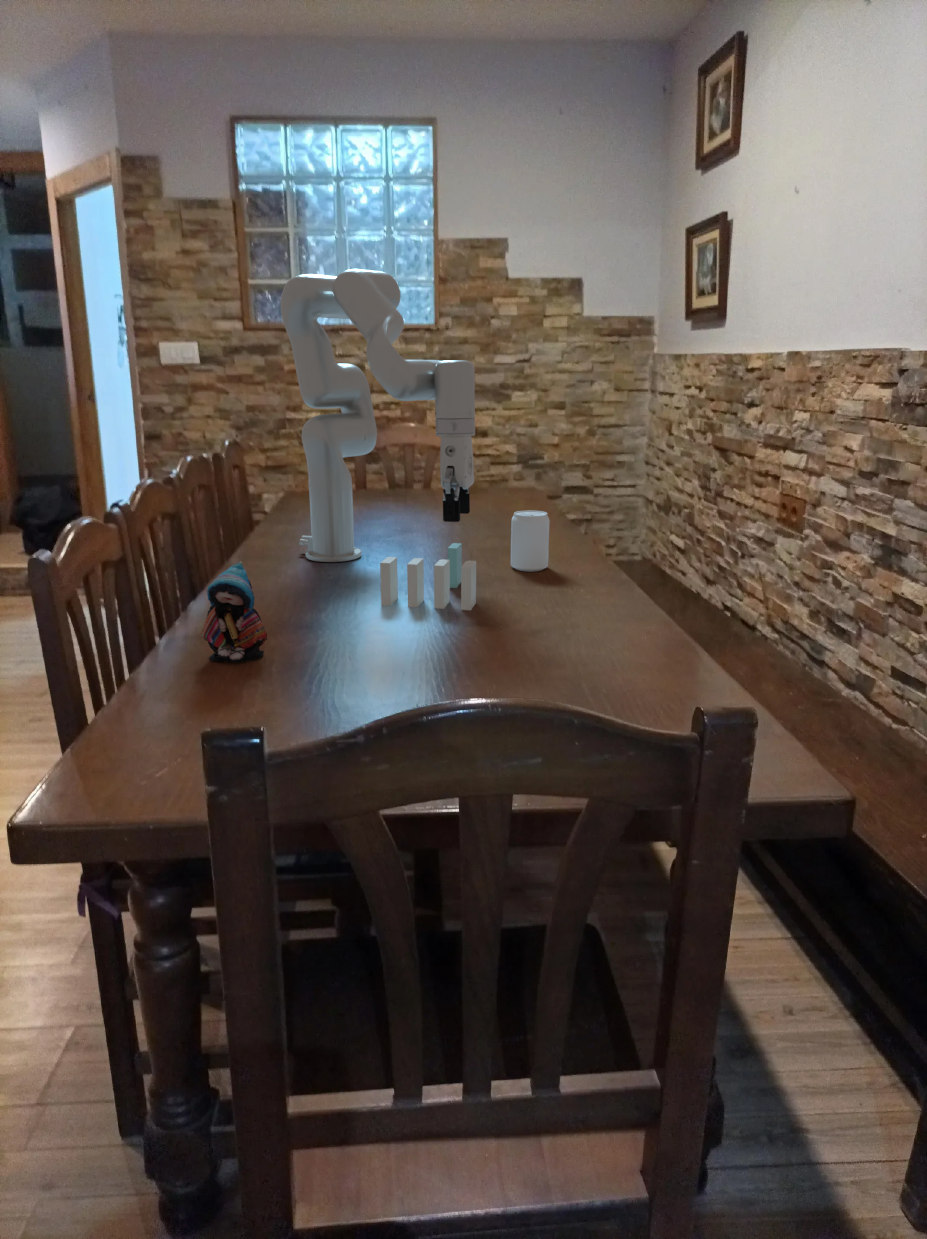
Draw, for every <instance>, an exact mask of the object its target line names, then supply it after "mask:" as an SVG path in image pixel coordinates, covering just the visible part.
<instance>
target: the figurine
mask: <svg viewBox="0 0 927 1239" xmlns="http://www.w3.org/2000/svg"><path fill="white" fill-rule="evenodd" d="M206 593H207V594H206V595H207V600H208V601H209V603H210V607H209V610H207V614H206V620H205V621H204V624H203V628H202V632H201V634H200V635H201V637H202V638H203V639H204V641H206V642H207V643H208V645H209V647H210V649H211V650H212V652H214V653H212V654H211V655H210V656H209V657H208V660H209V661H210V662H213V663H215V662H216V663H217V662H218V663H219V662H222V663H246V662H250V661H256V660H259V659H262V658H263V657H264V653H265V651H264V650H260V647H261V646H263V644H264V643H265V642H266V641H267V640H268V633H267V631H266V628H265V626H264V624H263V622H262V619H261V617H260V615H259V613H258V611H257V610H256V609H255V608H254V607H255V605H254V604H255V593H254V591H253V587H252V583H251V581H250V580H249V577H248V574H247V571H246V570H245V568H244V565H243V562H242V561H240V560H238V562H237V563H234V564H232V565H230V567H229V568H227V569H226V570H224V571H223V572H222V573H220V574H219V575H218V576H216V578H215V579H213V581H212V583H211V584H209V585H208V587H207V589H206Z"/></svg>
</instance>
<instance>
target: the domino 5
mask: <svg viewBox="0 0 927 1239" xmlns="http://www.w3.org/2000/svg"><path fill="white" fill-rule="evenodd" d="M460 589H461V590H460V598H461V599H460V601H461V602H460V610H461V611H472V609H473V608H474V606H475V605H476V604H477V560H466V561H465V562H464V563H463V564H462V566H461V583H460Z"/></svg>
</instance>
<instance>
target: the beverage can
mask: <svg viewBox="0 0 927 1239" xmlns="http://www.w3.org/2000/svg"><path fill="white" fill-rule="evenodd" d="M550 522H551V521H550V518H549V516H548V512H547V511H543V510H532V509H531V510H518V511H515V512H513V516H512V517H511V523H510V524H511V529H510V531H511V532H510V534H511V535H510V567H512V568H513V569H515V570H517V571H520V572H530V573H531V572H540V571H543V570H545V569H547V568H548V566H549V555H550V554H549V553H550V552H549V548H550V547H549V546H550Z"/></svg>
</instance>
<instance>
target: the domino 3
mask: <svg viewBox="0 0 927 1239" xmlns="http://www.w3.org/2000/svg"><path fill="white" fill-rule="evenodd" d="M433 581H434V582H433V583H434V586H433V591H434V592H433V598H434V599H433V602H434V605H433V608H434V609H438V610H439V609H441V610H444V609H446V607H447V606H448V604H449V603H450V602H451V601H450V600H451V594H450V593H451V592H450V591H451V590H450V589H451V588H450V560H448V559H443V558H442V559H439V560H438V561H437V562H436V563H434V565H433Z"/></svg>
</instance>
